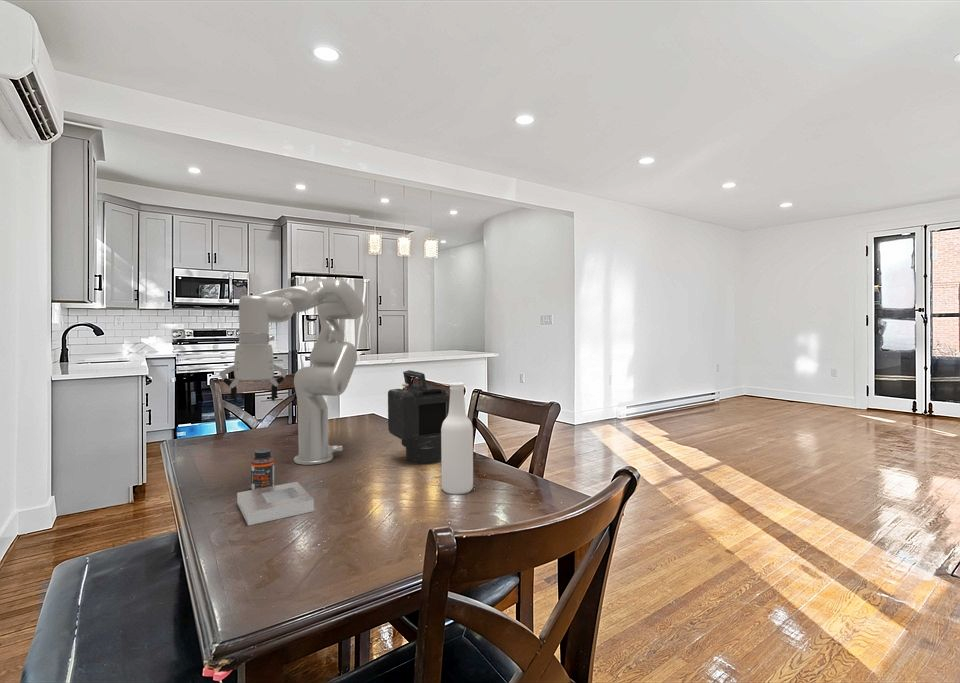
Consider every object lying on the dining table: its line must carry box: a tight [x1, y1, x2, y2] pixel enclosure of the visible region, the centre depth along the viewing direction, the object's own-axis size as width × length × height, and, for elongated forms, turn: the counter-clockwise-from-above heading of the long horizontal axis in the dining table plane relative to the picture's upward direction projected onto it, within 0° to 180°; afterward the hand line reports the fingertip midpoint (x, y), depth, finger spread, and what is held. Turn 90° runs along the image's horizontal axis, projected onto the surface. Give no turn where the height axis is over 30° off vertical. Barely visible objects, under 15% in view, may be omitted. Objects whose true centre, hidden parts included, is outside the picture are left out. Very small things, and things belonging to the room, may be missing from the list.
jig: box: [236, 481, 315, 526], centre depth 125 cm, size 15×16×3 cm
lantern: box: [387, 369, 450, 465], centre depth 166 cm, size 15×18×30 cm
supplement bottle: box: [250, 448, 276, 490], centre depth 137 cm, size 6×6×11 cm
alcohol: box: [440, 381, 474, 496], centre depth 137 cm, size 9×9×30 cm
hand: (254, 401), depth 138 cm, fingers open, 9 cm apart
